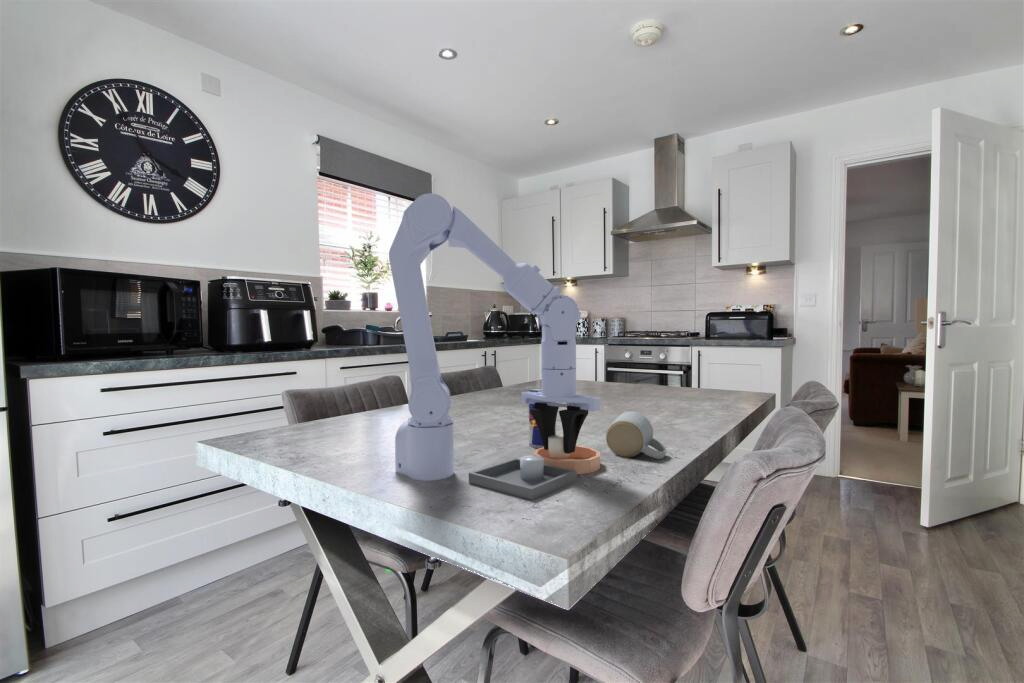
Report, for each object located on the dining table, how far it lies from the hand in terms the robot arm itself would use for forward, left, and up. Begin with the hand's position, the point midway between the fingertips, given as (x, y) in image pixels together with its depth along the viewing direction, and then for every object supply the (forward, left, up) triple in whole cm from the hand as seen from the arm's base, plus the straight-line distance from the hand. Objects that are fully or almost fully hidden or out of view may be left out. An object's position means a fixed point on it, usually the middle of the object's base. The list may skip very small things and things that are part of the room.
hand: (559, 450), depth 78 cm
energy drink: (-12, +11, -4) cm, 17 cm away
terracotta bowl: (0, +2, -4) cm, 4 cm away
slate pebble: (0, -7, -3) cm, 8 cm away
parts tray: (0, -10, -4) cm, 10 cm away
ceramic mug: (+5, +19, -4) cm, 20 cm away
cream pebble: (0, 0, -1) cm, 1 cm away
